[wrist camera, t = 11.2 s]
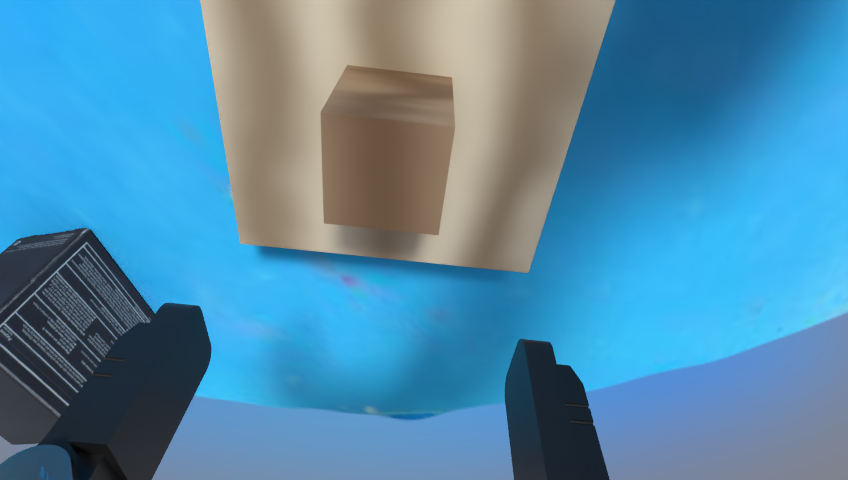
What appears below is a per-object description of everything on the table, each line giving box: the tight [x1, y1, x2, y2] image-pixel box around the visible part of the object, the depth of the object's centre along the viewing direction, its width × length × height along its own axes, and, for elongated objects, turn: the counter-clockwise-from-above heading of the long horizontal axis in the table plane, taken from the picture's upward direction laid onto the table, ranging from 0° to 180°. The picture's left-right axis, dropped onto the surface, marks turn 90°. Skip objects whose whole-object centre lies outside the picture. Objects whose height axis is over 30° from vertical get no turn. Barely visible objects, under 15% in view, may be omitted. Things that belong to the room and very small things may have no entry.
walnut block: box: [320, 65, 455, 235], centre depth 21 cm, size 5×5×6 cm
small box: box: [0, 228, 155, 445], centre depth 32 cm, size 11×6×10 cm, turn 11°
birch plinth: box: [200, 0, 616, 273], centre depth 25 cm, size 18×18×4 cm
